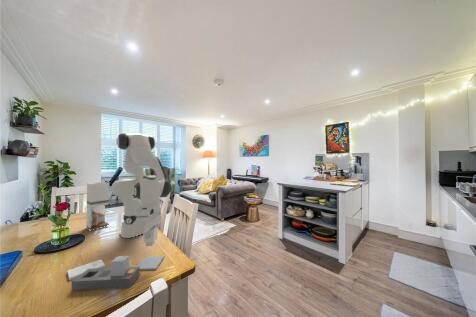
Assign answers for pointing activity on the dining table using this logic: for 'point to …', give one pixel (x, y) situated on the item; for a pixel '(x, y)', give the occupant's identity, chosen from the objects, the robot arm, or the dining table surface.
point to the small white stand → (97, 204)
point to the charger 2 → (151, 237)
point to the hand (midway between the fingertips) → (150, 235)
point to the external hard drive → (84, 269)
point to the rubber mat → (150, 263)
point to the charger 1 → (120, 266)
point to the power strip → (104, 279)
